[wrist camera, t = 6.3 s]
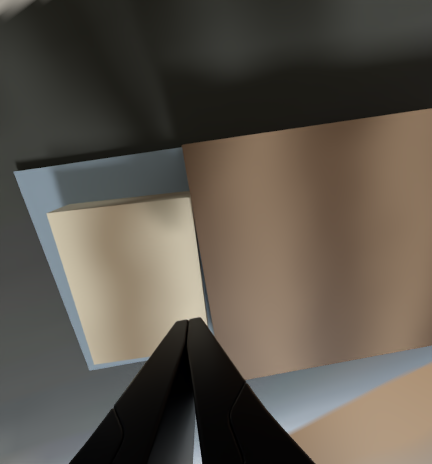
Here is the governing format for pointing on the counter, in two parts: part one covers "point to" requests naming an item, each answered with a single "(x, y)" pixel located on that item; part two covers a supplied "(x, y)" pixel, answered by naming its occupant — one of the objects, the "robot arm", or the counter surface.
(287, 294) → the plate
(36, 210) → the mat
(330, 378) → the counter surface
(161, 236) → the tile
